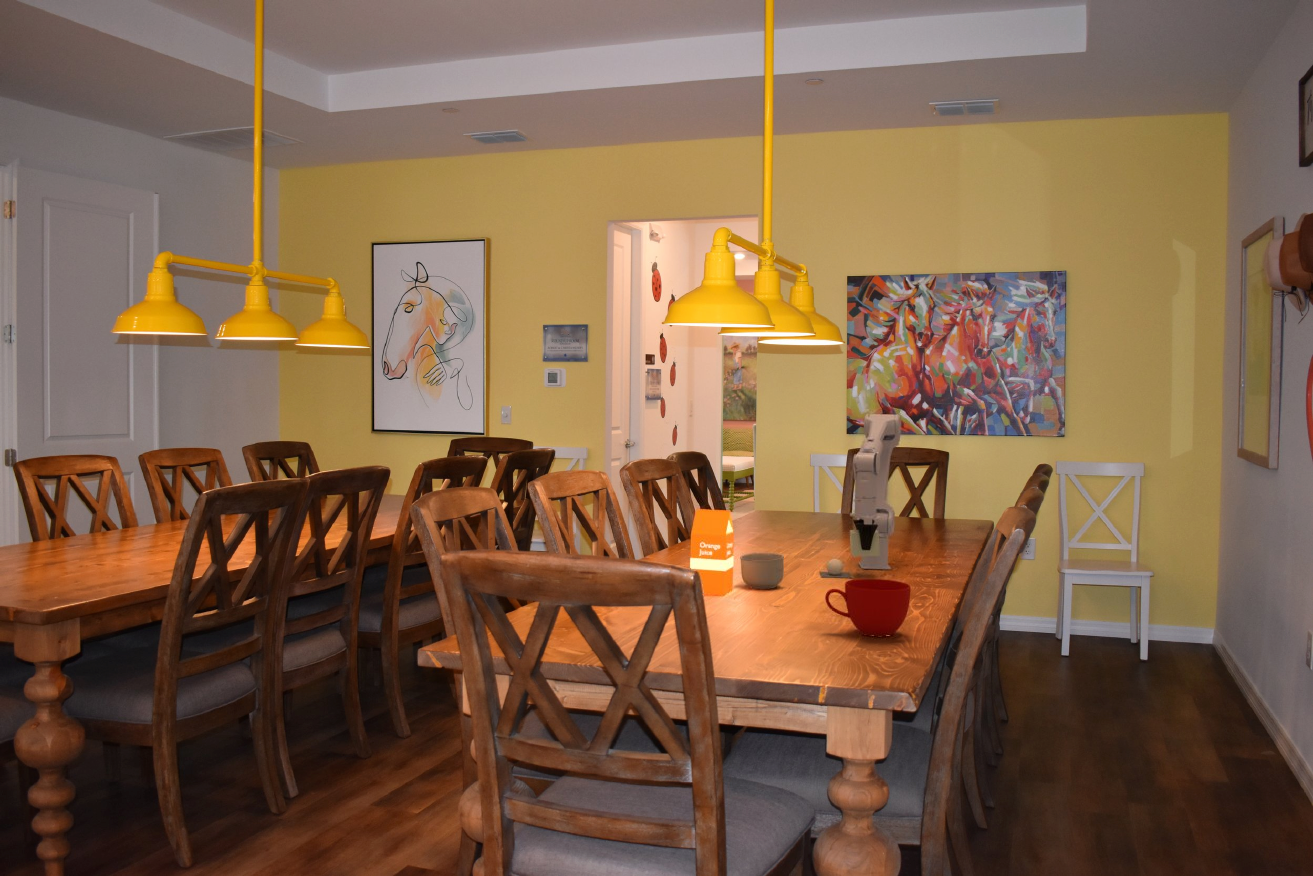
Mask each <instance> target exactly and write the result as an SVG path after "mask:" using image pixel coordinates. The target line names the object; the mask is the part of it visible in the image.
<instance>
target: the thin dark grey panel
mask: <svg viewBox="0 0 1313 876" xmlns="http://www.w3.org/2000/svg"><path fill="white" fill-rule="evenodd" d="M819 575H820V578H823V579H825V578H827V579H828V578H829V579H836V578H837V579H853V577H852V575H851V573H850V572H849V571H848V572H847V571H845V572H844V571H842V572H841V573H840V574H839V575H831V574H830V573H829V572H828V571H819Z"/></svg>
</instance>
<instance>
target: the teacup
mask: <svg viewBox="0 0 1313 876" xmlns="http://www.w3.org/2000/svg"><path fill="white" fill-rule="evenodd" d="M784 557H785V556H784V555H783V554H780V553H775V552H751V553H746V554H743V555H741V556H740V557H739V559H740V569H741V571H740V572H741V578H742V581H743V582H744V584H746V585H747V586H748V587H749V588H751V587H752V588H751V589H754V588H758V589H757V590H769V589H775V588H776V587H777V586H778V585H780V583H781V582H782V581H783V578H784V573H785V572H784V570H785V569H784Z"/></svg>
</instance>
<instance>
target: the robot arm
mask: <svg viewBox="0 0 1313 876" xmlns="http://www.w3.org/2000/svg"><path fill="white" fill-rule="evenodd" d="M901 431H902V417H901V416H900V414H899V413H898V414H897V413H896V414H888V413H887V414H884V413H883V414H882V413H881V414H878V413H877V414H876V413H875V414H874V413H866V415H865V416H864V418H863V432H864V435H865V438H864V439H863V441H862V444H861V445H860V448H859V451H858V452H857V454H856V453H855V454H854V456H853V458H852V459H853V460H852V469H853V480H854V481H855V483H854V487H855V488H854V512H850V513H849V516H850V517H854V518H856V519H853V520H852V522H853V525H854V527H855V530H858V531H859V535H860V542H861V548H862V550H870V549H871V545H872V540H873V536H874V533H875V531H876V530H877V531H878V532H879V554H880V556H861V561H858V565H859V566H860V568H861V569H864V570H866V569H867V570H891V566H890V565H889V537H890V536H892V535H893V534H894V531H895V520H896V519H895V510H894V508H893V506H891V505H890V504H889V503H888V502H887V495H888V492H887V491H888V486H889V484H888V483H889V475H890V473H889V472H890V466H891V465H890V464H891V456H892V453H893V449H894V448H896V447H898V446H899V445H900V442H901Z"/></svg>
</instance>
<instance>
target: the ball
mask: <svg viewBox="0 0 1313 876" xmlns="http://www.w3.org/2000/svg"><path fill="white" fill-rule="evenodd" d="M826 570H827V571H826V572H829V573H830V574H831V575H839V574H840V573H841V572H844V571H843V570H844V564H843V562H842V561H841V560H839V559H838V558H833V559H830V560H828V562H827V564H826Z"/></svg>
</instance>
